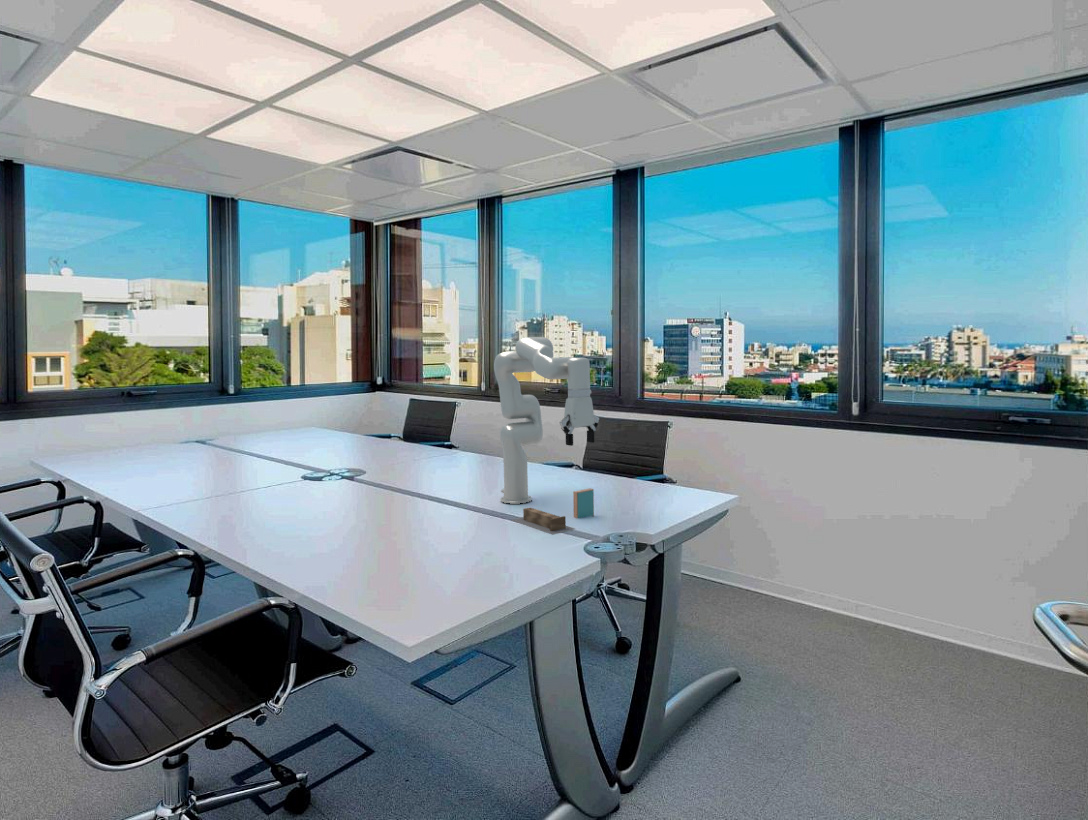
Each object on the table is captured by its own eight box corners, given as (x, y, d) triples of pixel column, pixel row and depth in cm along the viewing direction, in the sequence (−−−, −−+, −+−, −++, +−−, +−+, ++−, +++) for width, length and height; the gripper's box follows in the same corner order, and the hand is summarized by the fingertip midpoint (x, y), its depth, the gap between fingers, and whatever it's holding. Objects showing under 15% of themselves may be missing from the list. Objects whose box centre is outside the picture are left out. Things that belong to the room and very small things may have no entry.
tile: (573, 519, 232) (573, 491, 231) (590, 515, 237) (590, 488, 236) (577, 520, 231) (577, 492, 230) (594, 516, 235) (594, 489, 235)
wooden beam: (520, 520, 229) (519, 509, 229) (533, 517, 233) (533, 506, 232) (551, 531, 215) (551, 519, 215) (565, 528, 219) (565, 516, 218)
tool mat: (510, 521, 230) (510, 519, 230) (533, 516, 236) (533, 515, 236) (552, 536, 211) (552, 534, 211) (576, 530, 217) (576, 528, 217)
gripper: (590, 392, 230) (591, 440, 232) (552, 395, 219) (553, 445, 221) (605, 392, 224) (606, 442, 226) (567, 395, 214) (568, 447, 215)
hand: (580, 443), depth 223 cm, fingers open, 9 cm apart
